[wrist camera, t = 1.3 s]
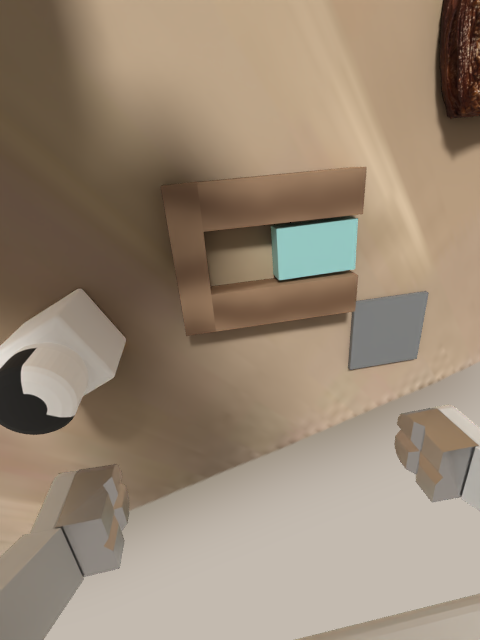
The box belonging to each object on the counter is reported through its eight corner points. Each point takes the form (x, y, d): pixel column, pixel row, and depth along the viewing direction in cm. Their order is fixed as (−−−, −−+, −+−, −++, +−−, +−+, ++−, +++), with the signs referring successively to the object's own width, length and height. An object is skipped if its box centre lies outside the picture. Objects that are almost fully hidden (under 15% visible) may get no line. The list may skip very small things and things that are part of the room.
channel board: (162, 185, 29) (160, 186, 27) (353, 167, 31) (366, 166, 29) (186, 325, 35) (186, 335, 33) (344, 302, 37) (355, 311, 35)
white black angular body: (73, 372, 35) (26, 461, 24) (22, 323, 32) (-59, 400, 21) (128, 339, 35) (104, 415, 24) (81, 285, 32) (29, 345, 21)
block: (269, 225, 32) (276, 229, 30) (345, 215, 33) (357, 218, 31) (272, 273, 35) (279, 280, 32) (344, 262, 35) (355, 269, 33)
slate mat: (353, 301, 37) (355, 303, 37) (425, 291, 38) (428, 292, 38) (348, 367, 41) (350, 369, 41) (414, 356, 42) (416, 358, 42)
